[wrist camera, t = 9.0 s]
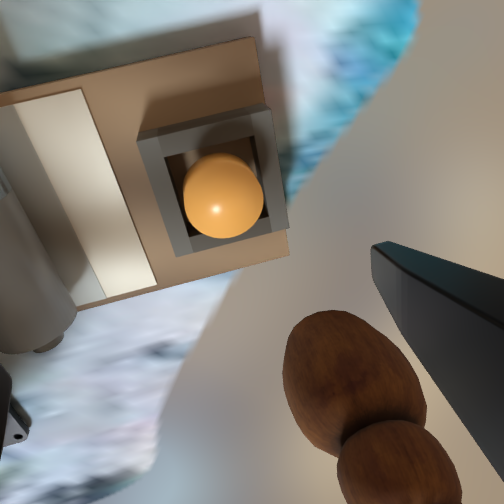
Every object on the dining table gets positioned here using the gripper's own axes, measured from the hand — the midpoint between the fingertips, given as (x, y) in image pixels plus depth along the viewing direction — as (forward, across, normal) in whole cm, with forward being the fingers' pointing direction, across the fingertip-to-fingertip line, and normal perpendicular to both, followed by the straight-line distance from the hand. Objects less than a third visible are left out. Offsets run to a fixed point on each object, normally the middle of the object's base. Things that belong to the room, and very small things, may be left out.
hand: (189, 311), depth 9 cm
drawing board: (+10, +3, 0) cm, 11 cm away
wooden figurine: (+11, -5, +13) cm, 17 cm away
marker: (+9, +7, 0) cm, 12 cm away
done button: (+8, -1, 0) cm, 8 cm away
